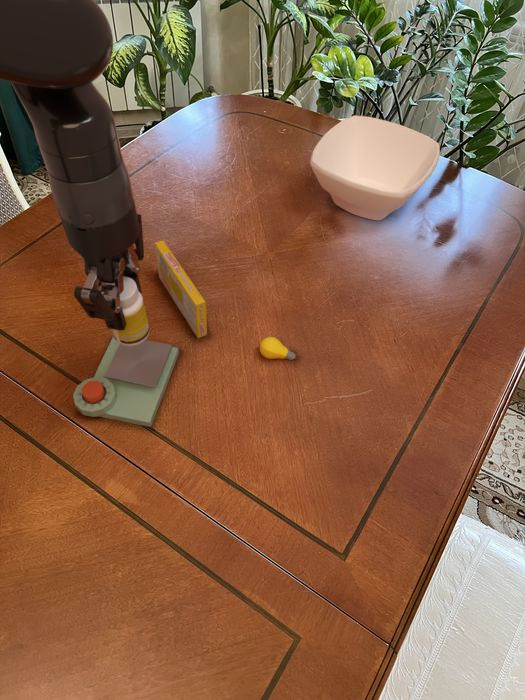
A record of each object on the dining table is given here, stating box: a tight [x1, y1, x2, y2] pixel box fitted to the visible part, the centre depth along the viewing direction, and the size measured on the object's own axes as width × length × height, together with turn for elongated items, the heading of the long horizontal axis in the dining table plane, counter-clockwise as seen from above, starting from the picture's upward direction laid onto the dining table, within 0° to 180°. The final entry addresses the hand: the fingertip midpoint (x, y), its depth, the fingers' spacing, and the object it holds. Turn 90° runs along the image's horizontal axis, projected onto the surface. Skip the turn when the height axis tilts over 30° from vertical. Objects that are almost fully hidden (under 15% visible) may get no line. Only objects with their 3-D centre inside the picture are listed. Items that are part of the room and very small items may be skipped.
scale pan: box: [105, 339, 173, 388], centre depth 87 cm, size 8×8×1 cm
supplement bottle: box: [104, 276, 151, 346], centre depth 71 cm, size 5×5×8 cm
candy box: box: [154, 239, 208, 339], centre depth 95 cm, size 16×2×8 cm, turn 30°
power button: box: [82, 381, 105, 403], centre depth 84 cm, size 3×3×2 cm
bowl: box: [309, 114, 441, 221], centre depth 111 cm, size 22×22×12 cm
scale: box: [72, 336, 180, 428], centre depth 87 cm, size 15×12×3 cm
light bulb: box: [259, 336, 296, 361], centre depth 91 cm, size 3×6×4 cm, turn 76°
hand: (125, 310), depth 71 cm, fingers closed on supplement bottle, 4 cm apart
